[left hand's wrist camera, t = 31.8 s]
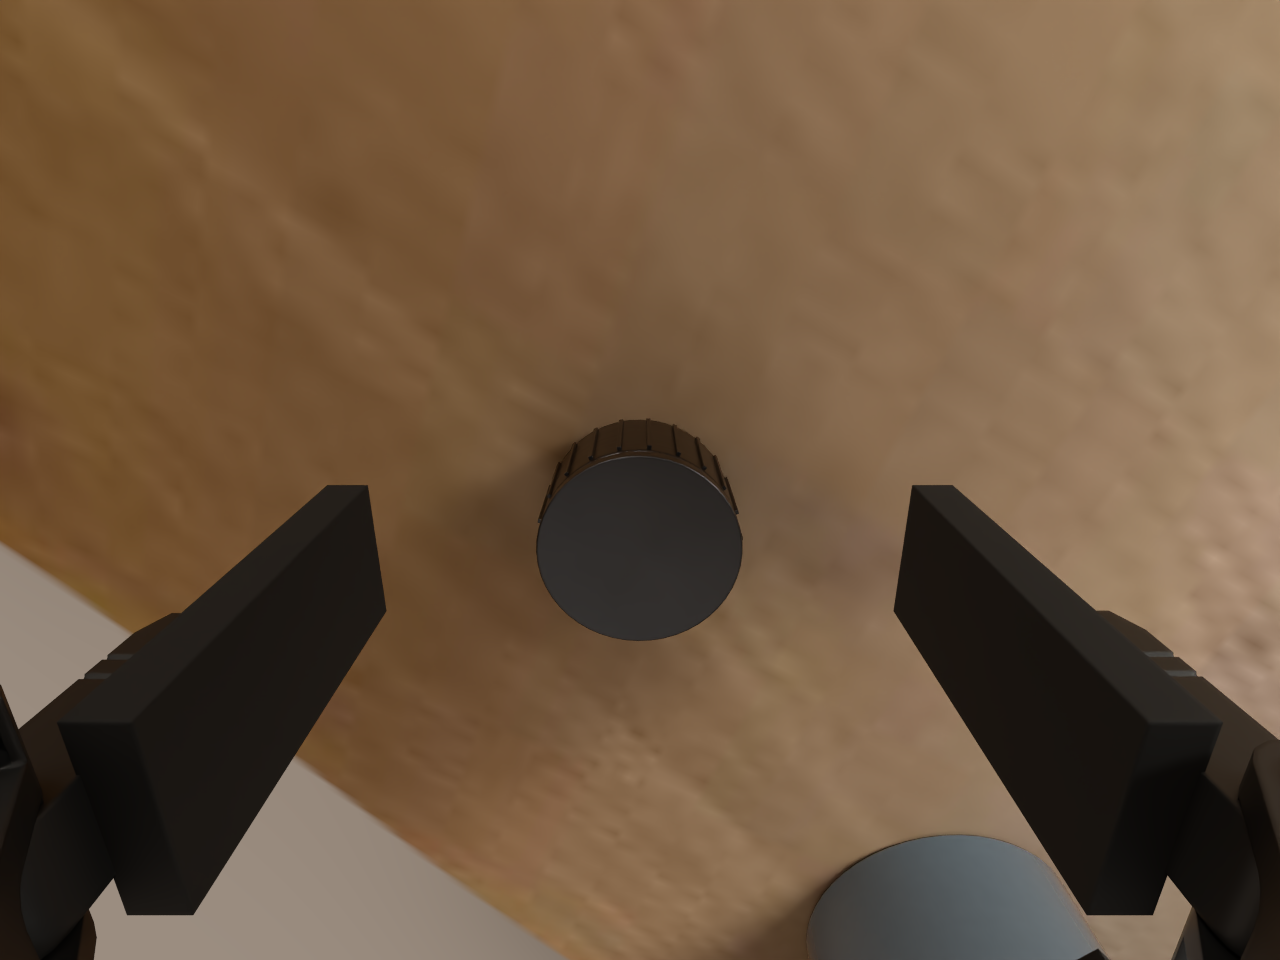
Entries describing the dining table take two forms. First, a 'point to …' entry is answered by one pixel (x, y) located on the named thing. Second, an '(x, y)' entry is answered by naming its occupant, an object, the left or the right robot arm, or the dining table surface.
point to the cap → (639, 532)
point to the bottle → (949, 906)
